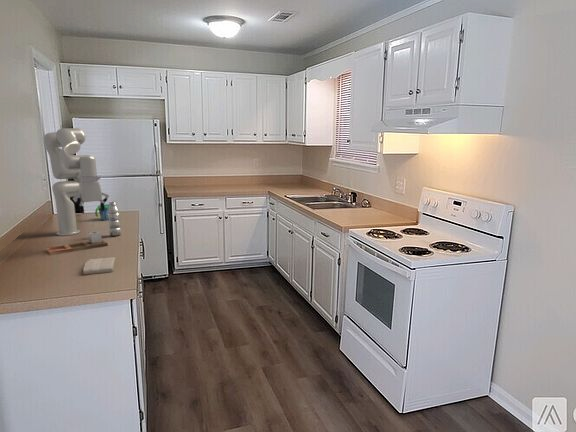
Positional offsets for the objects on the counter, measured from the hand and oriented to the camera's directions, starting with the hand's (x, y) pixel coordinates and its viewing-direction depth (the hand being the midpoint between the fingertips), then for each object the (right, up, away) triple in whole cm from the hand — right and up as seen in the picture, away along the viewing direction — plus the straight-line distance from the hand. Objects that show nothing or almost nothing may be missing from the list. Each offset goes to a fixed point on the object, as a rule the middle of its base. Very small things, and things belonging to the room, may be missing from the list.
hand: (92, 212), depth 214 cm
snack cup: (-26, -5, +74) cm, 79 cm away
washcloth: (+20, -26, -35) cm, 48 cm away
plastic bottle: (+1, -14, +25) cm, 29 cm away
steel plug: (0, -18, +3) cm, 18 cm away
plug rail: (-7, -19, -2) cm, 20 cm away
